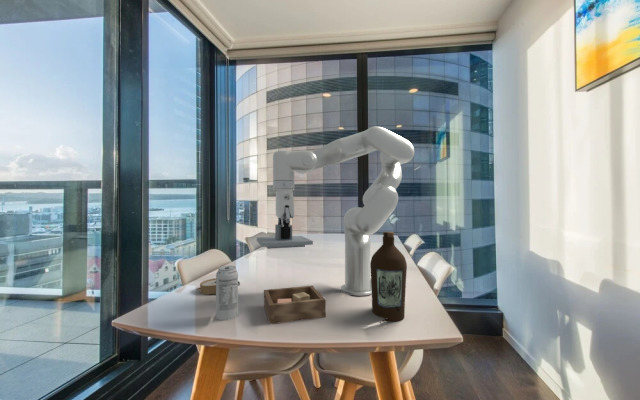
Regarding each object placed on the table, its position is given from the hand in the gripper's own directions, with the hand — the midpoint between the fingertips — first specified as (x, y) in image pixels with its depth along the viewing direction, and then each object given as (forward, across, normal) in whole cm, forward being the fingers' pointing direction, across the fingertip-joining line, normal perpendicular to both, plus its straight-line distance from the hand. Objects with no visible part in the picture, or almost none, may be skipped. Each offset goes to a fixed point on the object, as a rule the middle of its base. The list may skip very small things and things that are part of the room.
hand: (283, 237), depth 104 cm
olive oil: (+22, -26, -26) cm, 43 cm away
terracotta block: (+20, -18, +4) cm, 28 cm away
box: (+21, -16, +1) cm, 27 cm away
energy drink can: (+21, -14, +20) cm, 32 cm away
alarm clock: (+22, +15, +21) cm, 34 cm away
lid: (+3, 0, 0) cm, 3 cm away
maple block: (+20, -14, -2) cm, 25 cm away
